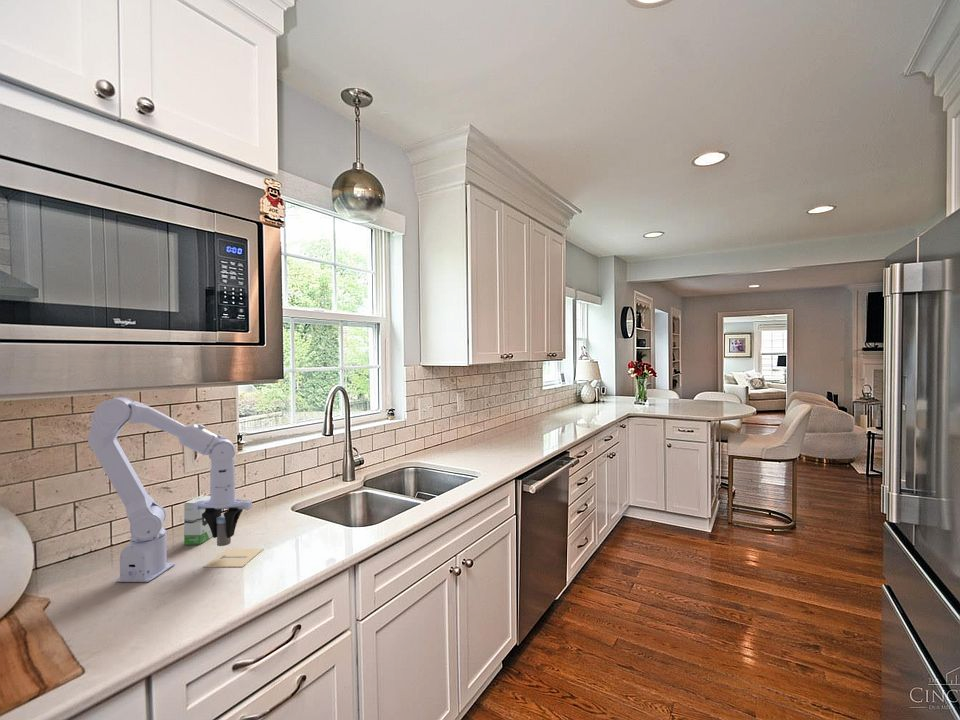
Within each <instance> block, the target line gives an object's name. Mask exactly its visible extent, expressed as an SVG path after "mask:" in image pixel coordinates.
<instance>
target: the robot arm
mask: <svg viewBox="0 0 960 720" xmlns="http://www.w3.org/2000/svg"><path fill="white" fill-rule="evenodd" d="M127 422H129V424H147V425H150V426H152V427H155V428H157V429H159V430H161V431H164V432H166V433H168V434H170V435H173V436H176V437H177V438H178V441H179V444H180V445H181V446H184V447H185V448H188V449H190V450H193V451H195V453H196V452H197V453H198V454H201V455H203V456H208V457H209V460H210V464H211V466H210V469H209V482H210V483H209V484H210V485H209V487H210V489H209V490H210V491H209V493H210V495H209V496H210V499H211V500H206V501H197V502H195V503H194V510H199V509H205V512H204V513H203V517H204V518H205V520H206V521H207V523H208V525H209V527H210V529H211V532H212V536H213V537H212V538H213V539H217V523H216V518H217V517H219V516H222V512H223V510H226V511H225V512H223V515H224V517H225V520H226V526H227V538H230V537H231V538H232V537H234V536H235V530H236V526H237V523H238V521H239V519H240V516H241V514H242V512H243V510H245V511H246V510H247V511H249V510H250V509H252V508H253V500H252V499H251V500H249V499H239V498H236V476H235V475H236V472H235V471H236V468H235V465H234V464H235V459H234V458H235V455H236V451H235V446H234V443H233V442H232V441H231V440H230V439H228V437H223V436H222V434H220V433H219V434H215V433H213V432H211V431H210V430H207V429H205V427H206V426H205V425H203V424H201V423H200V424H198V425H197V424H196V423H194V424H190V425H189V424H188V425H186V424H184V423H181V422H180V421H177V419H174V418H172V417H170V416H168V415H167V414H165V413H162V412H161V411H159V410H157V409H155V408H153V407H151V406H150V405H147V404H145V403H142V402H140V401H136V400H134V401H133V400H132V399H131V398H130V397H126V396H115V397H112V398H110V399H105V400H104V401H102V402H101V403H99V405H98V406H97V407H96V408H95V410H94V412H93V413H92V415H91V422H90V423H91V424H90V428H89V433H88V438H87V439H88V440H87V442H88V445H89V447H90V448H91V450H92V452H93V454H94V455H95V457H96V458H97V460H98V463H99V464H100V466H101V467H102V469H103V471H104V473H105V475H106V477H108V479H109V482H110V483H111V484H112V486H113V488H114V490H115V492H116V493H117V495H118V497H119V498H120V500H121V502H122V504H123V505H124V507H125V512H126V513H125V514H126V518H127V520H128V522H129V533H130V534H131V535H130V540H129V542H128V544H127V546H126V547H124V548H123V549H122V550H121V552H120V553H119V578H117V579H116V582H117V583H124V582H125V583H130V582H131V583H132V582H133V583H138V582H139V583H143V582H144V583H148V582H150V581H152V580H153V579H155V578H157V577H158V576H160V575H162V574H164V572H166V571H167V570H169V569H171V568H172V567H174V566H175V565H176V562H167V561H168V557H167V555H168V554H167V529H165V527H164V526H163V523H164V522H165V520H166V517H167V513H166V510H165V508H164V507H163V506H162V505H159V504H158V503H156V502H155V499H154V498H153V497H152V496H151V495H149V494H148V492H147V490H146V489H145V486H144V485H143V483H142V482H141V480H140V478H139V476H138V474H137V473H136V471H135V469H134V468H133V466H132V464H131V462H130V461H129V459H128V457H127V455H126V454H125V452H124V450H123V448H122V446H121V445H120V443H119V441H118V437H119V434H121V433H120V432H121V431H122V429H123V427H124V426H125V424H126V423H127Z"/></svg>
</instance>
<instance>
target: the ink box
mask: <svg viewBox="0 0 960 720" xmlns="http://www.w3.org/2000/svg"><path fill="white" fill-rule="evenodd" d="M206 500H211V499H210V495H209V494H208V495H205V494H204V495H203V494H202V495H199V496H197V497H195V498H192V499H190V500H187V501H186V502H184V505H183V506H184V509H183V510H184V511H183V512H184V513H183V514H184V516H183V518H184V519H183V533H184V534H183V535H184V536H183V538H184V541H183V543H184V545H191V546H192V545H194V546H195V545H202V544H203V543H205V542H206V540H207V541H208V540H209V538H210V539H211V538H213V537H212V532H211V529H210V527H209V525H208V523H207V521H206V520H205V518H204V517H203V513H204V512H205V509H199V510H194V503H195V502H197V501H206ZM201 543H202V544H201Z"/></svg>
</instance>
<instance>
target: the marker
mask: <svg viewBox="0 0 960 720" xmlns="http://www.w3.org/2000/svg"><path fill="white" fill-rule="evenodd" d="M216 523H217V537H216V545H217V547H224V546H228V545H230V544H231V542H232V540H231V538H232V537H230V538H227V526H226V520H225V517H224V514H223V515H221V516H219V517H217V518H216Z"/></svg>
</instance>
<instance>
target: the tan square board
mask: <svg viewBox="0 0 960 720" xmlns="http://www.w3.org/2000/svg"><path fill="white" fill-rule="evenodd" d="M263 550H264V548H227V549H225V550H223V552H221V553H219V555H217V556H216V557H214V558H213V559H211V560H210V561H209V562H207V563H206V564H205V565H203V566H202V567H203V568H243V567H245V566H246V565H247V564H248V563H250V562H251V561H252V560H253V559H254V558H255V557H256V556H257V555H259V554H260V553H261V552H262V551H263ZM251 559H252V560H251ZM246 563H247V564H246ZM245 564H246V565H245ZM244 565H245V566H244Z"/></svg>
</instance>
